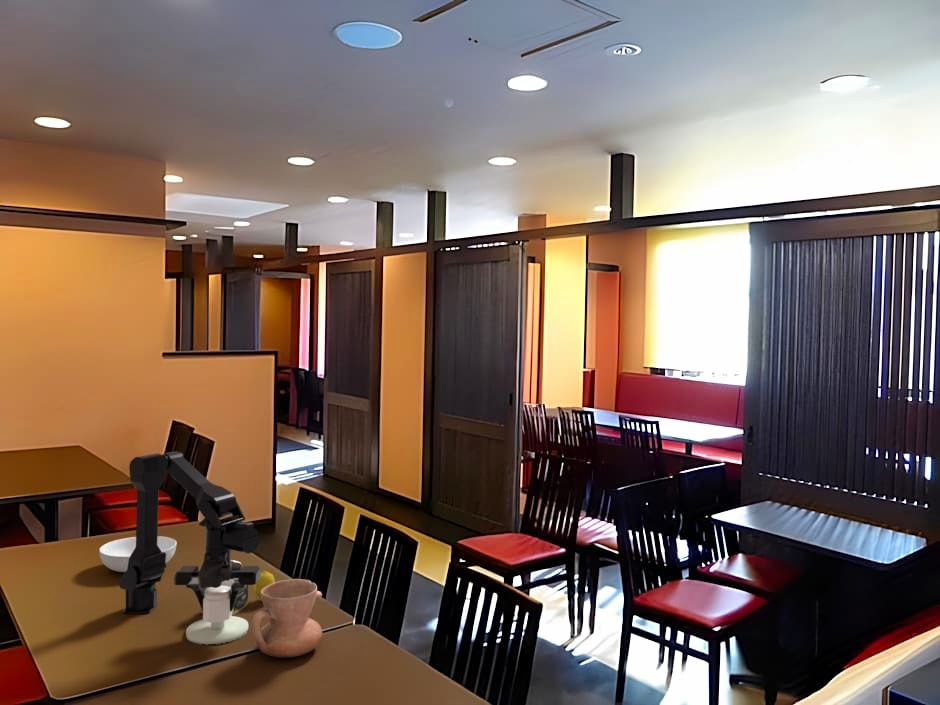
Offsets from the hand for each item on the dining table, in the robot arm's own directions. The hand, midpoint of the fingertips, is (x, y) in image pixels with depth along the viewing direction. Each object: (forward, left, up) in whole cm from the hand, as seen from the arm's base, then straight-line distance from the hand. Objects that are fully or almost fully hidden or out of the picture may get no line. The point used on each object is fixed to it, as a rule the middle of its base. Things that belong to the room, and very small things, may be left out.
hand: (217, 610), depth 171 cm
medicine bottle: (-1, +14, -5) cm, 15 cm away
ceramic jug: (+18, -10, -5) cm, 21 cm away
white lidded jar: (0, 0, -2) cm, 2 cm away
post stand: (0, 0, -5) cm, 5 cm away
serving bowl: (-35, +45, -5) cm, 57 cm away
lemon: (+7, +19, -5) cm, 21 cm away
